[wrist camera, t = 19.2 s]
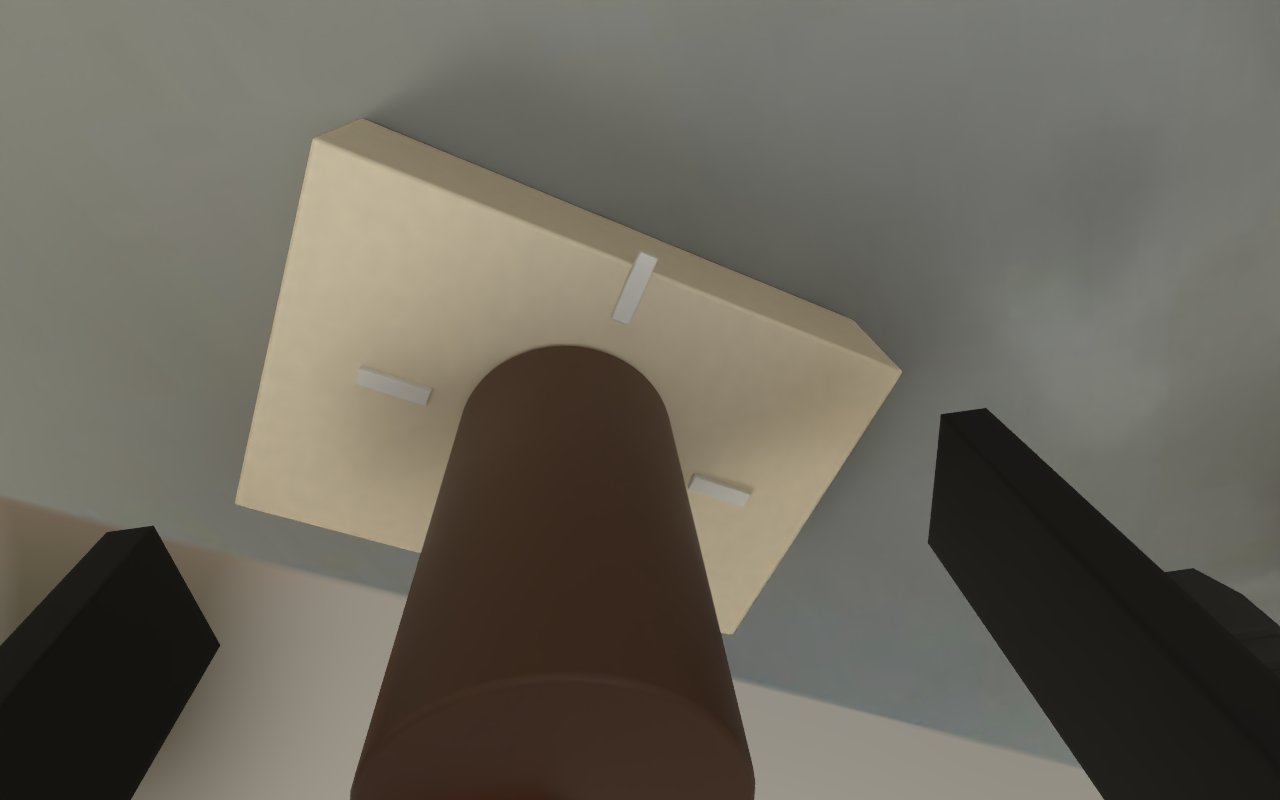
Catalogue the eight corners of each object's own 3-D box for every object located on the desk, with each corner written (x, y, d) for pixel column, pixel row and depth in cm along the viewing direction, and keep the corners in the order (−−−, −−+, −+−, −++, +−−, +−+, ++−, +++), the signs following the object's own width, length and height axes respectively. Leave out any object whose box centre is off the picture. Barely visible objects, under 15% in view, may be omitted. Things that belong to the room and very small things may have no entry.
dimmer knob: (660, 329, 14) (757, 673, 6) (679, 510, 16) (767, 925, 8) (436, 359, 14) (273, 742, 6) (484, 537, 16) (403, 979, 8)
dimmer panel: (708, 566, 21) (728, 649, 18) (282, 443, 18) (227, 521, 15) (860, 308, 17) (916, 362, 14) (364, 101, 14) (312, 119, 11)
